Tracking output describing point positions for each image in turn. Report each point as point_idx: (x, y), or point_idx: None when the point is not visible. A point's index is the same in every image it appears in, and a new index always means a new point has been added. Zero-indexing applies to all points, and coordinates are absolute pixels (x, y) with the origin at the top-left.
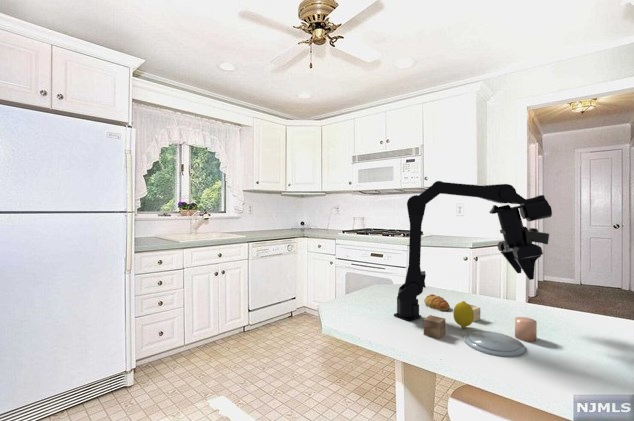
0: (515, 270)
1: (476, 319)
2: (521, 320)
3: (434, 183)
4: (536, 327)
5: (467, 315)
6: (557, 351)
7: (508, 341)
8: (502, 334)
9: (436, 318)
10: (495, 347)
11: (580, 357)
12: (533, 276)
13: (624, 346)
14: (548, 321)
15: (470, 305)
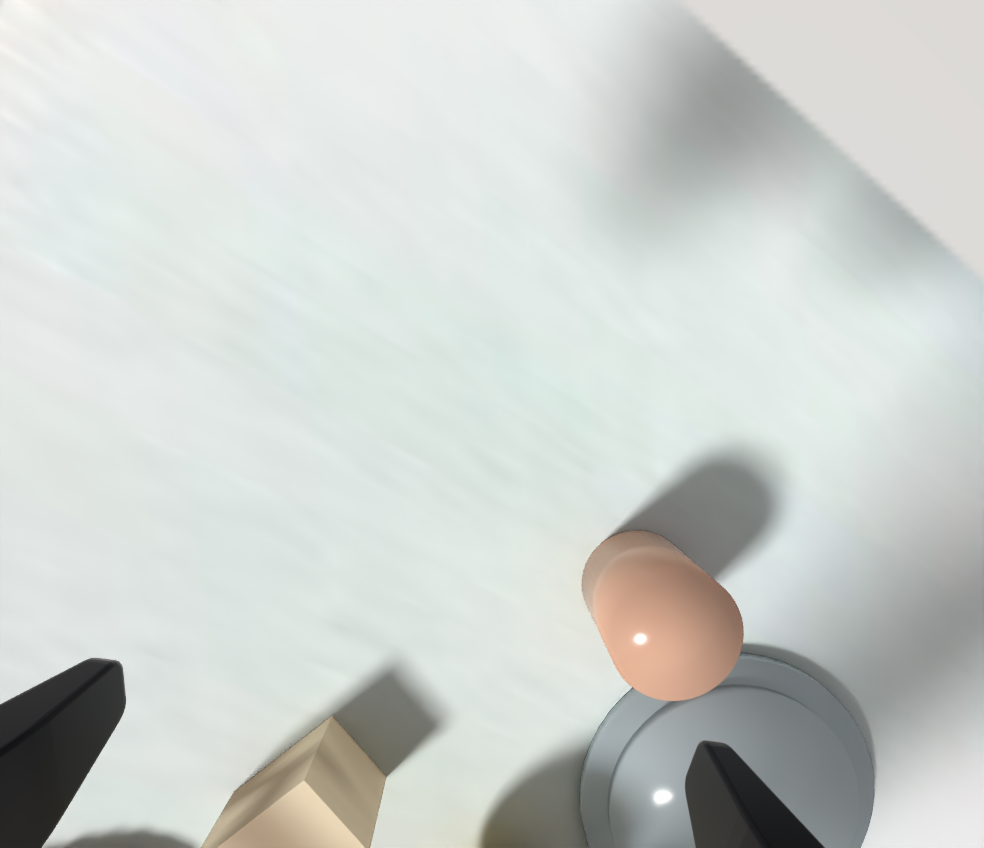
0: (63, 787)
1: (359, 756)
2: (684, 670)
3: None
4: (702, 570)
5: None
6: (805, 508)
7: (760, 744)
8: (661, 733)
9: None
10: (835, 841)
11: (873, 435)
12: (763, 790)
13: (736, 78)
14: (333, 274)
15: (260, 837)
